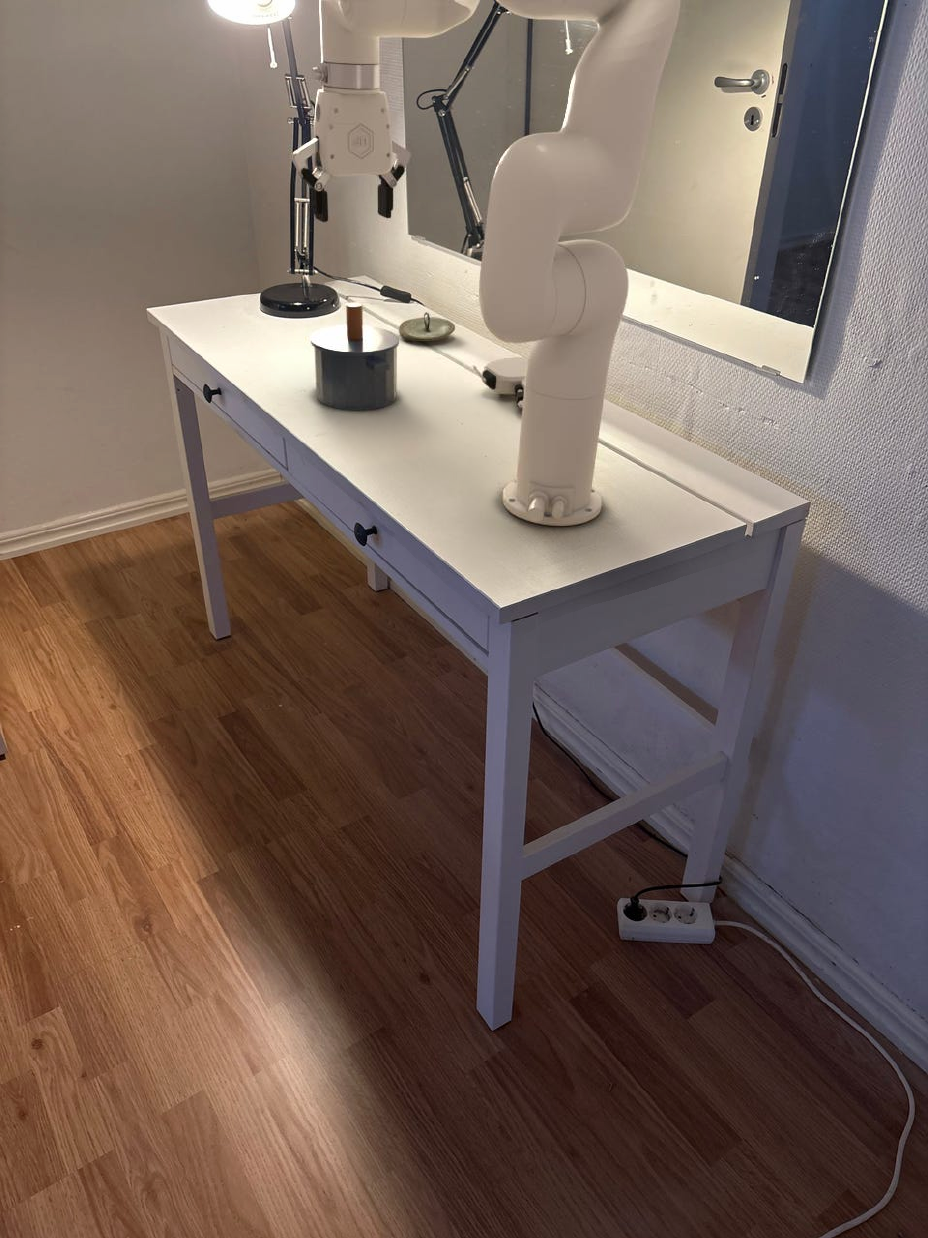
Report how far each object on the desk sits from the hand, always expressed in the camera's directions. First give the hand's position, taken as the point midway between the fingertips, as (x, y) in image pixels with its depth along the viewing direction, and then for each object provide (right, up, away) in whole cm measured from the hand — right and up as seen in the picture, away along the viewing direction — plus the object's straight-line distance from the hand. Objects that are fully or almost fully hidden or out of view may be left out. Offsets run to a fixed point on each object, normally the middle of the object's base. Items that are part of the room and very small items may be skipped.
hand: (353, 218), depth 131 cm
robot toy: (+25, -22, +17) cm, 38 cm away
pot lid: (-1, -14, +10) cm, 18 cm away
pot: (-1, -22, +15) cm, 26 cm away
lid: (+9, -4, +41) cm, 42 cm away
